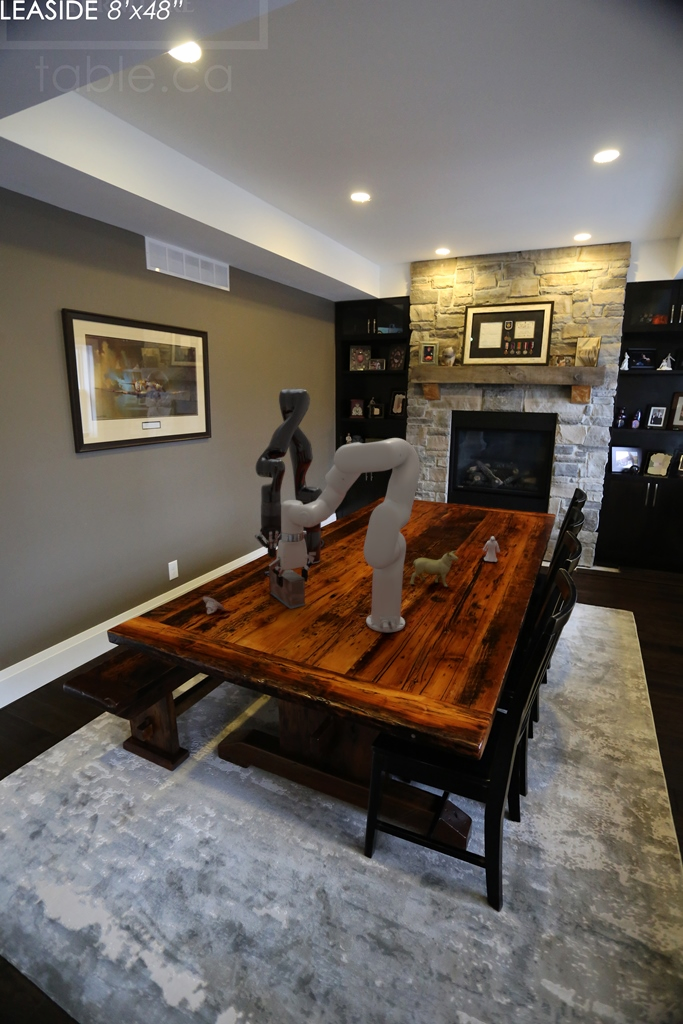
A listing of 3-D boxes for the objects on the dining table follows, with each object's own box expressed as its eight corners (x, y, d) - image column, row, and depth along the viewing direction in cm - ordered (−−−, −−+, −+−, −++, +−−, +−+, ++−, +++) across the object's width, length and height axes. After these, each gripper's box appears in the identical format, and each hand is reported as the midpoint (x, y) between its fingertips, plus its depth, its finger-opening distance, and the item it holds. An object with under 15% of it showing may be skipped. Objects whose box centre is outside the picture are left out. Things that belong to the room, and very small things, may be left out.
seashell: (209, 622, 169) (193, 604, 168) (220, 611, 173) (205, 594, 172) (217, 618, 163) (201, 599, 162) (228, 607, 167) (213, 589, 166)
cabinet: (270, 593, 185) (270, 567, 182) (284, 590, 188) (284, 565, 186) (290, 608, 172) (290, 581, 170) (304, 605, 175) (304, 578, 173)
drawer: (263, 584, 191) (262, 563, 189) (274, 581, 194) (273, 561, 192) (287, 602, 175) (286, 580, 173) (298, 599, 178) (298, 577, 176)
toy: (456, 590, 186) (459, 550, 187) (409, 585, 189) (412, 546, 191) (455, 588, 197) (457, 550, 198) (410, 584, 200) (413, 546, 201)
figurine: (481, 562, 222) (483, 536, 219) (482, 556, 230) (484, 531, 227) (499, 564, 220) (501, 538, 217) (499, 558, 228) (501, 533, 225)
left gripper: (282, 508, 190) (283, 551, 194) (250, 512, 182) (251, 557, 187) (292, 512, 183) (292, 557, 188) (258, 517, 176) (259, 563, 181)
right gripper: (308, 530, 179) (308, 575, 183) (264, 537, 169) (265, 584, 173) (319, 535, 173) (319, 582, 177) (274, 543, 163) (274, 591, 167)
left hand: (271, 557), depth 187 cm, fingers closed
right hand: (292, 583), depth 175 cm, fingers open, 9 cm apart
